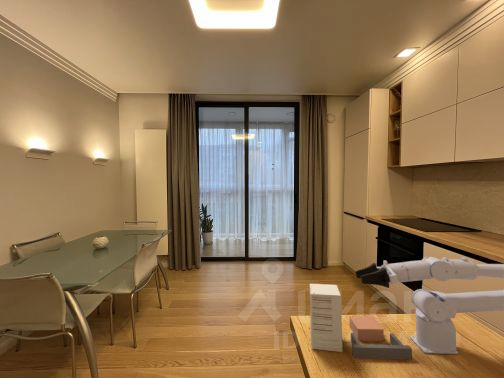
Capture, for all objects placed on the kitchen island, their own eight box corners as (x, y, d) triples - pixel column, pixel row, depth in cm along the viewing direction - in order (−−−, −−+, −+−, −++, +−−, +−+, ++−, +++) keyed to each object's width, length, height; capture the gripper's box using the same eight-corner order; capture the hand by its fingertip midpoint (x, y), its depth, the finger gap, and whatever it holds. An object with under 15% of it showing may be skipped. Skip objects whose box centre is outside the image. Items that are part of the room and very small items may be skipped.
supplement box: (343, 353, 74) (341, 296, 74) (311, 349, 76) (309, 294, 76) (338, 334, 83) (337, 284, 83) (310, 332, 85) (309, 282, 85)
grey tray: (398, 343, 78) (398, 333, 78) (412, 359, 70) (411, 348, 70) (346, 342, 79) (345, 332, 79) (354, 357, 71) (353, 347, 71)
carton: (372, 328, 87) (372, 316, 87) (383, 341, 79) (383, 329, 79) (349, 327, 88) (349, 316, 88) (358, 341, 80) (357, 329, 80)
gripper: (392, 255, 85) (351, 261, 88) (410, 262, 71) (361, 268, 74) (397, 277, 84) (356, 281, 86) (417, 287, 70) (366, 293, 72)
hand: (358, 277), depth 80 cm, fingers open, 7 cm apart
